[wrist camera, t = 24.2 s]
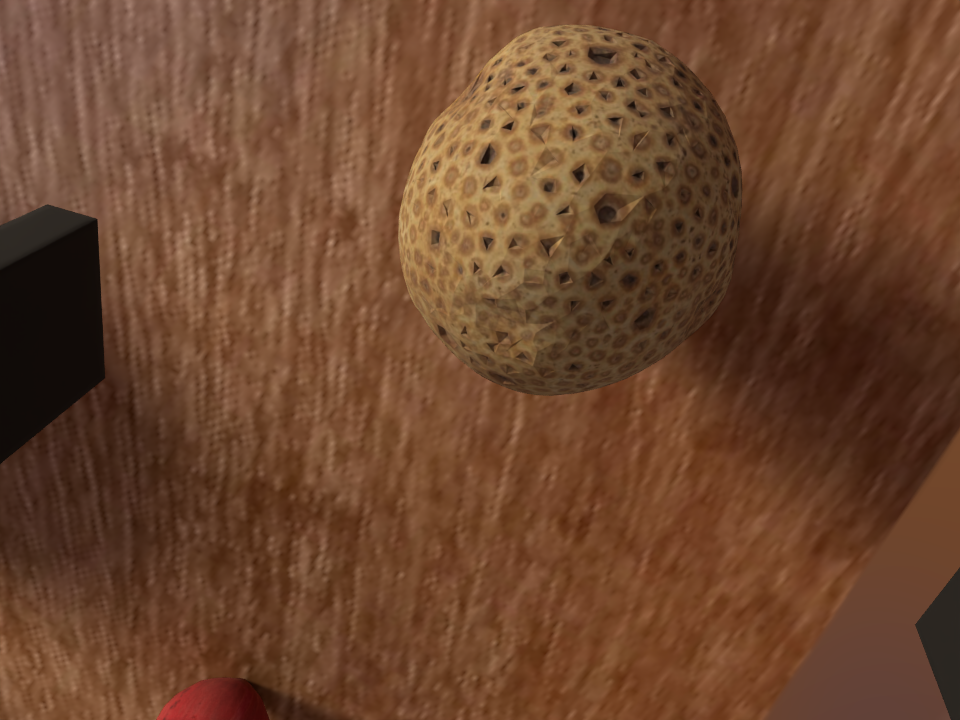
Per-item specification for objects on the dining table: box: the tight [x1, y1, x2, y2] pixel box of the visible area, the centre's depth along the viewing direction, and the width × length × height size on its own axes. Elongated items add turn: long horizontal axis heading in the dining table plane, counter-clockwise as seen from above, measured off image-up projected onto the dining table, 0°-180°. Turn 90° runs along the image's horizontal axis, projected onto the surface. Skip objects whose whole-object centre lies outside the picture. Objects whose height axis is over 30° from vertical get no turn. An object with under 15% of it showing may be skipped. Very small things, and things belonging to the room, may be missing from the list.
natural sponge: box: [398, 25, 742, 396], centre depth 20 cm, size 9×9×10 cm
